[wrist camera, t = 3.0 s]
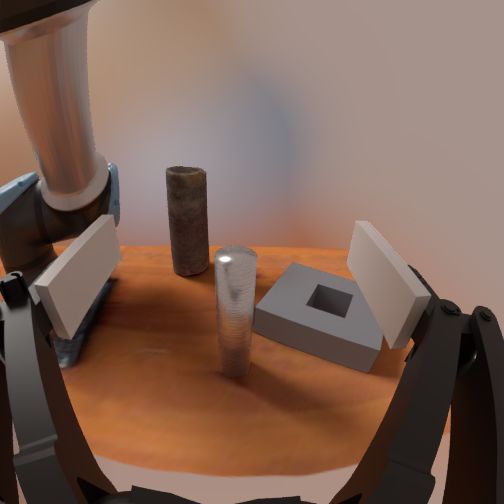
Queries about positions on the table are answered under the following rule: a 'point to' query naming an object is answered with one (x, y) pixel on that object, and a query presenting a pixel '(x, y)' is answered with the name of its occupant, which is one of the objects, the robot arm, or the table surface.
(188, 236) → the brown textured cylinder
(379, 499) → the robot arm
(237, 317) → the long pin
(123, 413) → the table surface
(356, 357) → the guide block
